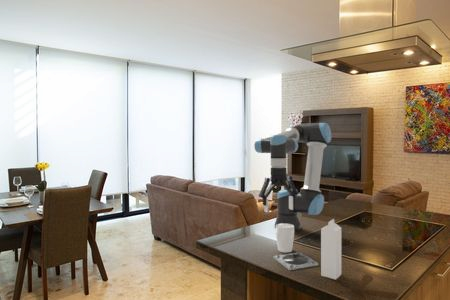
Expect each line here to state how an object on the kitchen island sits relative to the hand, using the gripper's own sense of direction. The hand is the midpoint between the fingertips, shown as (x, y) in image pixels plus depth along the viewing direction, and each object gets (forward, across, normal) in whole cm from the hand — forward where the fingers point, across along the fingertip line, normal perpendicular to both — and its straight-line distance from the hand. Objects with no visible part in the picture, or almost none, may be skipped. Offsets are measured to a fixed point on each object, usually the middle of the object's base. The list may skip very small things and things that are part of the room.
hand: (278, 210), depth 156 cm
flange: (+19, +1, +16) cm, 25 cm away
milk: (+20, -5, +33) cm, 38 cm away
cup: (+20, -2, +2) cm, 20 cm away
